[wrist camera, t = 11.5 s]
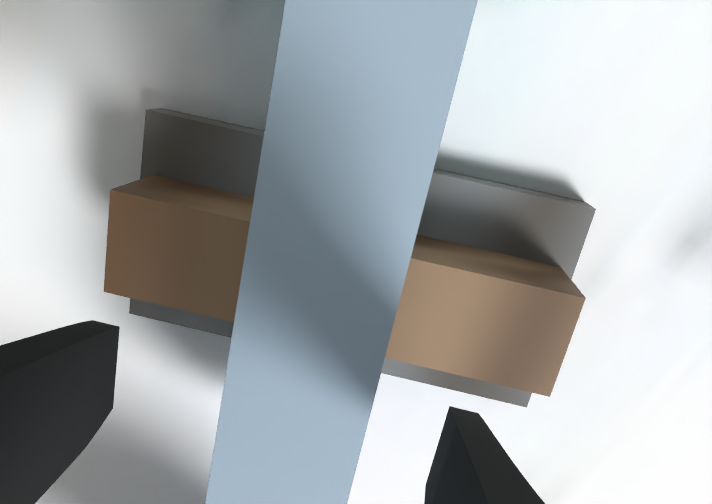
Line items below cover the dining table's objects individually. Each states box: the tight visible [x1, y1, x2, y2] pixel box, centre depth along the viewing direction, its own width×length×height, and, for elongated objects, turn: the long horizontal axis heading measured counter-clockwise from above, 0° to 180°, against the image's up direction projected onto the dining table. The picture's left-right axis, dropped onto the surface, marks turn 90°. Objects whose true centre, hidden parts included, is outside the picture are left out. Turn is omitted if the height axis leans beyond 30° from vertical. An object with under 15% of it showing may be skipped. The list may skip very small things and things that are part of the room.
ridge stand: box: [104, 108, 596, 407], centre depth 19 cm, size 16×8×4 cm, turn 79°
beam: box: [205, 0, 477, 504], centre depth 15 cm, size 18×4×5 cm, turn 168°
